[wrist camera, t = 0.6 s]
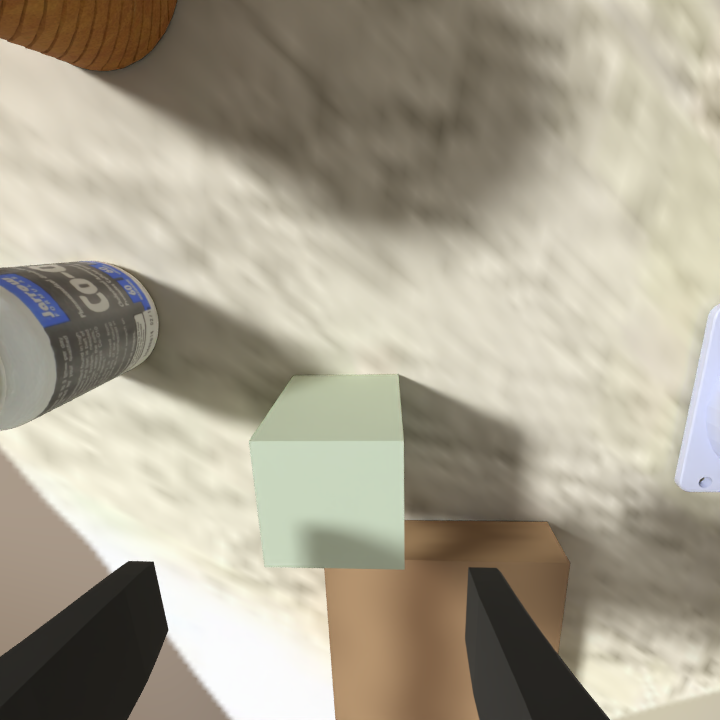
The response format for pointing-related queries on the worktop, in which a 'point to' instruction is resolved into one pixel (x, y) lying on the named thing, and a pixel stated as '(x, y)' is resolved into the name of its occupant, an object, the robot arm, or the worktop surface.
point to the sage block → (332, 474)
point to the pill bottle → (68, 333)
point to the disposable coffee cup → (87, 29)
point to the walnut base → (432, 616)
